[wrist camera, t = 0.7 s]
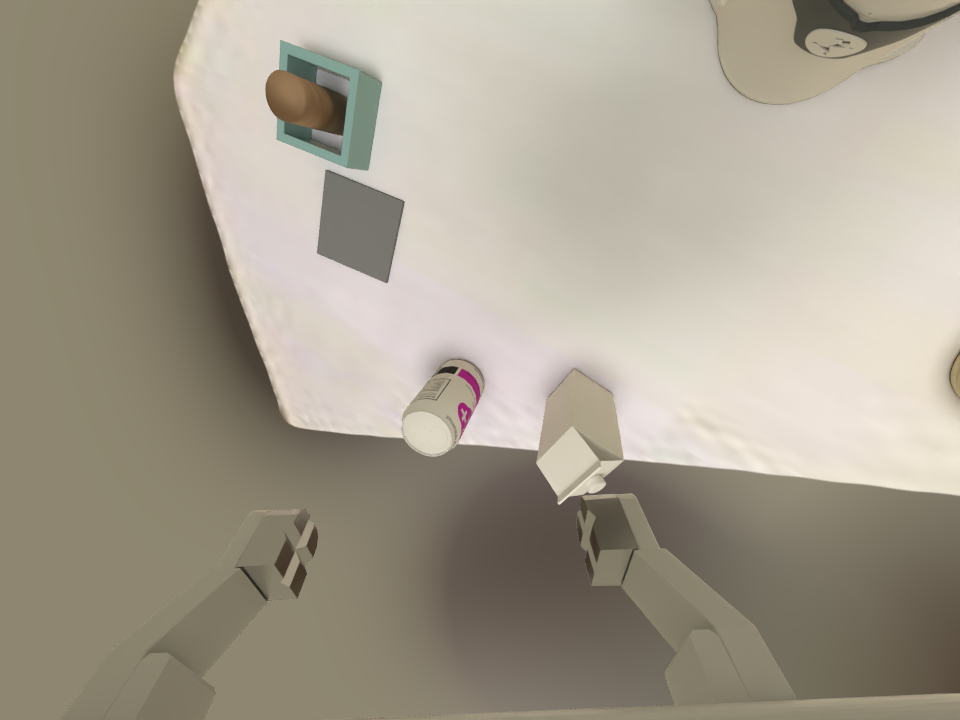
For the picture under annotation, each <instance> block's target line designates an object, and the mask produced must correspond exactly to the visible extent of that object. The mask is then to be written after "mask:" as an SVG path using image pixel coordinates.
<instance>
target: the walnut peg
mask: <svg viewBox="0 0 960 720" xmlns="http://www.w3.org/2000/svg"><path fill="white" fill-rule="evenodd" d="M266 98H267V102H268V105H269V107H270V109H271V111H272V112H273V113H274V115H275V116H276V117H277V118H279V119H280V120H282V121H285V122H288V123H292V124H296V125H300V126H304V127H308V128H312V129H316V130H320V131H324V132H328V133H332V134H337V135H341V136H343V133H344V125H345V116H346V108H347V100H348V98H347V97H345V96H344V95H341V94H339V93H337V92H334V91H332V90H329V89H327V88H325V87H322V86H320V85H318V84H315V83H313V82H310V81H308V80H306V79H303V78H301V77H299V76H296V75H294V74H291V73H289V72H287V71H284V70H276V71H274V72H273V73H271V75H270V76H269V77H268V80H267V83H266Z"/></svg>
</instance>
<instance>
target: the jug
mask: <svg viewBox="0 0 960 720" xmlns="http://www.w3.org/2000/svg"><path fill="white" fill-rule="evenodd" d="M950 379H951V385H952V387H953V390H954V391H955V393H956V394H957V396H958V397H959V398H960V354H959V355H958V357H957V359H956V360H955V362H954V365H953V367H952V370H951V375H950Z"/></svg>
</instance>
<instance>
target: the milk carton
mask: <svg viewBox="0 0 960 720" xmlns="http://www.w3.org/2000/svg"><path fill="white" fill-rule="evenodd" d="M623 460H624V457H623V451H622V445H621V439H620V433H619V427H618V421H617V414H616V408H615V402H614V396H613V394H611V393H610V392H608V391H607V390H605V389H604V388H603V387H601V386H600V385H598V384H597V383H595V382H594V381H592V380H591V379H589V378H588V377H586V376H585V375H583V374H582V373H580V372H579V371H577V370H576V369H573V370H572V371H571V373H570V374H569V375H568V376H567V377H566V378H565V379H564V381H563V382H562V383H561V384H560V385H559V386H558V387H557V389H556V390H555V391H554V392H553V393H552V394H551V395H550V397H549V398H548V399H547V401H546V408H545V414H544V420H543V426H542V432H541V438H540V444H539V450H538V457H537V462H536V463H537V465H538V467H539V468H540V470H541V471H542V473H543V474H544V476H545V477H546V479H547V480H548V482H549V483H550V485H551V486H552V488H553V490H554V491H555V492H556V494H557V496H558V504H561V503H562V502H563V501H564V500H565V499H566V498H567V497H569V496H576V495H583V494H585V493H586V492H587V491H588V492H589V493H595V492H597V491H599V490H601V489H602V488H603V487H604V486H605V485H606V482H605V481H604V480H603V478H604V477H605V476H606V475H607V474H609V473H610V472H611V471H612V470H613V469H614V468H616V467H617V466H618V465H619V464H620V463H621V462H623Z"/></svg>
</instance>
